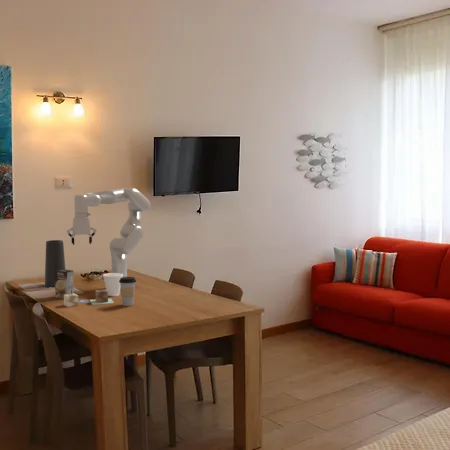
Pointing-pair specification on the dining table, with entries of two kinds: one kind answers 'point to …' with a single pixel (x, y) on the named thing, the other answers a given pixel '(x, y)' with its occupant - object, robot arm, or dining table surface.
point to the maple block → (70, 300)
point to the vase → (53, 260)
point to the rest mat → (101, 302)
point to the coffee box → (63, 283)
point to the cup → (112, 283)
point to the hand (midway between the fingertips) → (81, 244)
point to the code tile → (83, 301)
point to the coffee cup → (127, 290)
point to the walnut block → (101, 296)
